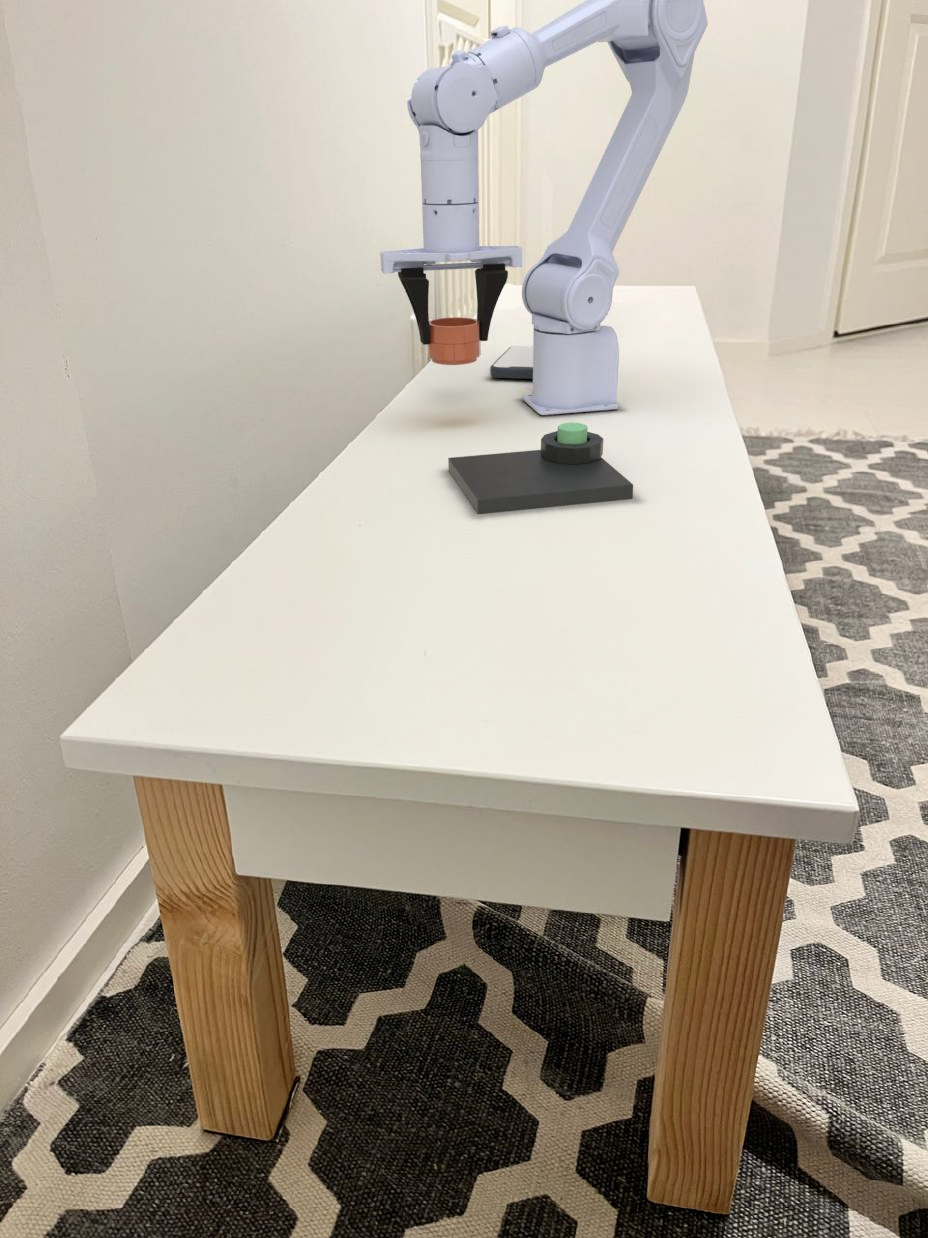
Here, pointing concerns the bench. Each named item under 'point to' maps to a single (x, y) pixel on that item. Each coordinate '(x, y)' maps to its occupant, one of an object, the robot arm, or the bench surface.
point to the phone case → (514, 363)
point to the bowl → (454, 340)
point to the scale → (540, 477)
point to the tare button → (572, 433)
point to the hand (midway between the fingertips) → (453, 341)
